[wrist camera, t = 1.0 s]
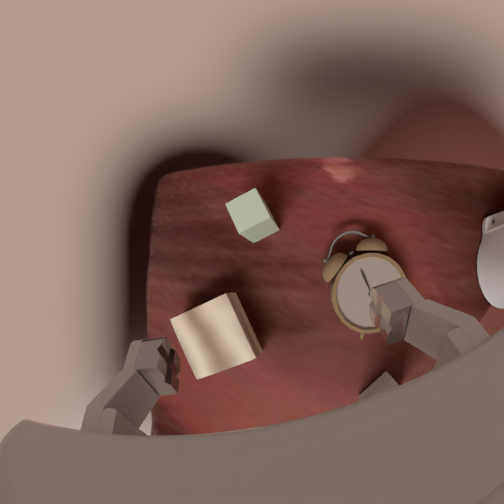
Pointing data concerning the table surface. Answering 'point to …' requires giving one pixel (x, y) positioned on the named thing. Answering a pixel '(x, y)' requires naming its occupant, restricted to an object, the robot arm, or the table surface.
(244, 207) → the sage block
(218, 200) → the table surface
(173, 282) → the table surface
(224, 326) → the birch block
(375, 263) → the alarm clock
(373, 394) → the skincare box
